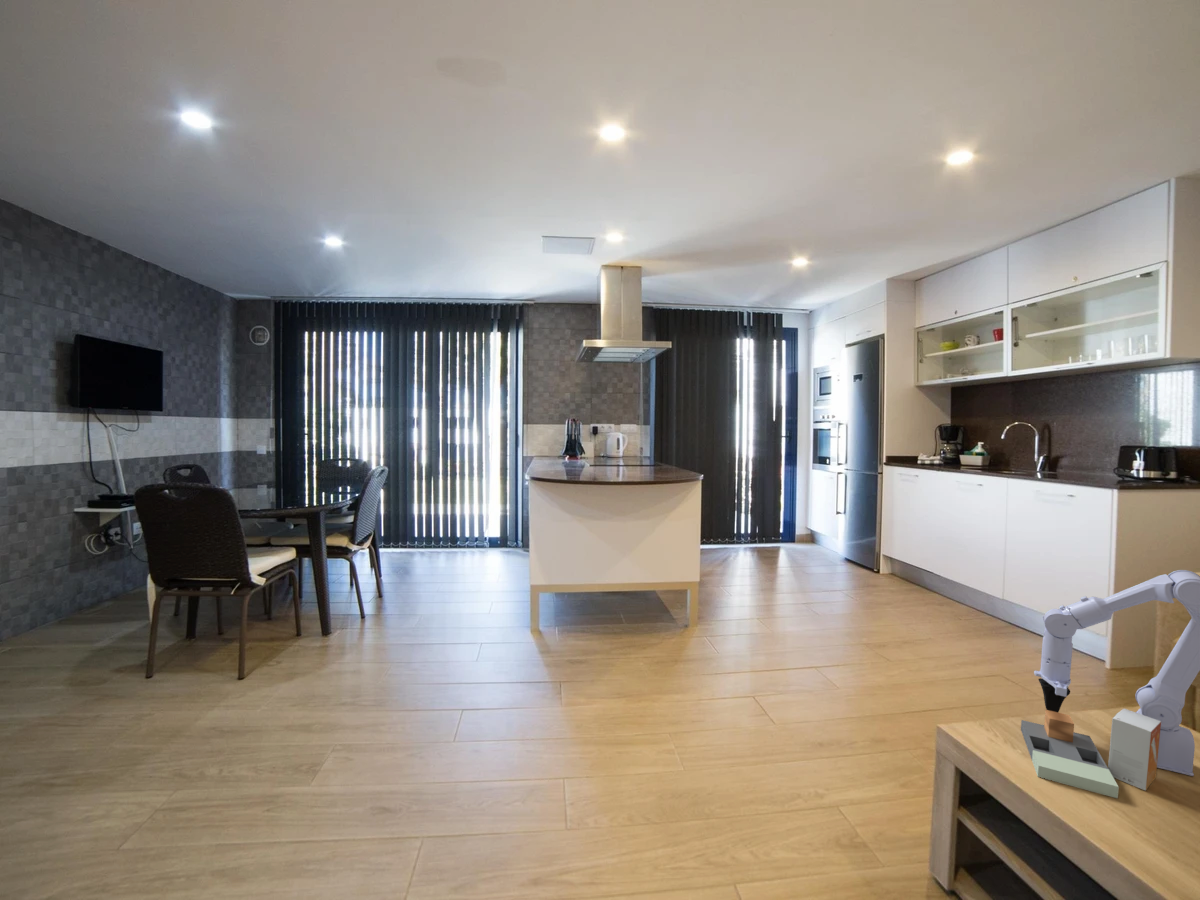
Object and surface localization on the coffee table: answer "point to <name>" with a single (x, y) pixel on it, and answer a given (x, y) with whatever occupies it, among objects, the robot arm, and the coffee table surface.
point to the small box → (1134, 748)
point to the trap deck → (1068, 760)
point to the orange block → (1059, 726)
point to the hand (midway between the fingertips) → (1051, 711)
